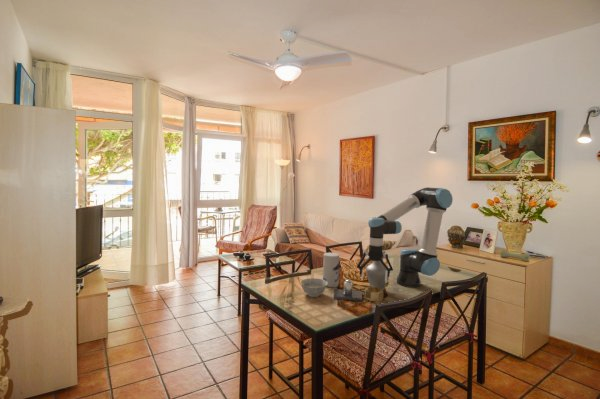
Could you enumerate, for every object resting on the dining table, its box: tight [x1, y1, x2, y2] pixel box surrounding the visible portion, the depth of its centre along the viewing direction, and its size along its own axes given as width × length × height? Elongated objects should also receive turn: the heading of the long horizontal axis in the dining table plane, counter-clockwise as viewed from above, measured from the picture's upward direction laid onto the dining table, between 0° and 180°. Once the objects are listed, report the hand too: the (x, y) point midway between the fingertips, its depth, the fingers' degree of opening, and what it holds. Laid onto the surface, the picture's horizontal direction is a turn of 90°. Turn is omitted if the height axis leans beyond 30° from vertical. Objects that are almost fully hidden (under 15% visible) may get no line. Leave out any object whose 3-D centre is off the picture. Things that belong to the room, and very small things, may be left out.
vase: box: [365, 249, 391, 290], centre depth 202 cm, size 14×14×25 cm
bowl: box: [299, 277, 328, 298], centre depth 193 cm, size 16×16×8 cm
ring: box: [364, 285, 384, 302], centre depth 191 cm, size 10×10×5 cm
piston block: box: [333, 278, 363, 302], centre depth 193 cm, size 16×12×10 cm
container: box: [322, 252, 340, 288], centre depth 211 cm, size 10×10×20 cm
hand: (373, 281), depth 190 cm, fingers open, 13 cm apart
